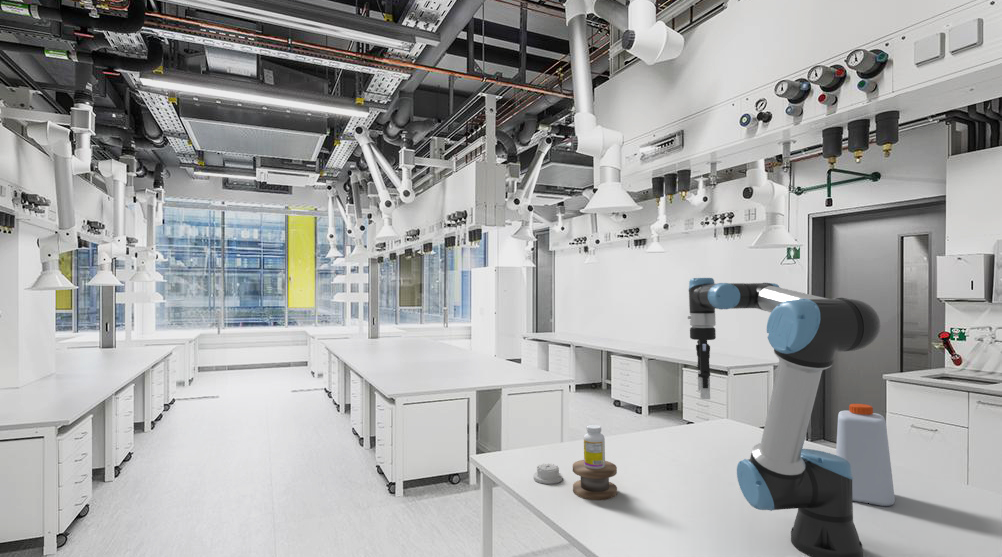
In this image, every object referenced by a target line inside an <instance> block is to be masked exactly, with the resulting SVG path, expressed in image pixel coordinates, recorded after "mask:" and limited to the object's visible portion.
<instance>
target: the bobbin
mask: <svg viewBox="0 0 1002 557" xmlns="http://www.w3.org/2000/svg"><path fill="white" fill-rule="evenodd" d="M617 470H618V466H617V465H616V464H614V463H613V462H611V461H607V460H605V467H604V468H602V469H589V468H587V467H585V465H584V459H581V460H578V461H575V462H573V463H572V472H573V474H575V475H577V476H579V477H580V479H579V480H577V481H575V482H573V484H572V491H573V493H574V495H575V496H577V497H579V498H582V499H586V500H590V501H593V500H594V501H602V500H603V501H606V500H609V499H613V498H615V497H616V496H617V495H618V487H617V485H616V484H615V483H613V482H610V478H612V477H615V476H616V475H617V473H618V472H617Z"/></svg>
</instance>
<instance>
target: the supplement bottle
mask: <svg viewBox="0 0 1002 557" xmlns="http://www.w3.org/2000/svg"><path fill="white" fill-rule="evenodd" d="M586 432H587V433H585V434H584V436H583V460H584V465H585V467H587V468H589V469H602V468H604V467H605V461H606V452H605V450H606V445H605V443H606V442H605V435H604V434H602V426H601V425H599V424H589V425H586Z"/></svg>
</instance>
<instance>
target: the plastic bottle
mask: <svg viewBox="0 0 1002 557" xmlns="http://www.w3.org/2000/svg"><path fill="white" fill-rule="evenodd" d="M848 406H849V408H848V410H841V411H839V412H838V415H837V428H836V429H837V431H836V450H835V451H836V453H835V455H837V456H839V457H842V458H844V459H845V460H847V461H848V462H849V464H850V465H851V473H852V477H853V480H852V501H854V502H857V503H858V502H859V503H864V504H868V503H869V505H875V506H881V507H889V506H893V504H895V501H896V497H895V489H894V483H893V482H894V481H893V473H892V471H893V470H892V462H891V453H890V446H889V439H888V429H887V422H886V419H885V416H884V415H882V414H880V413H877V412H874V408H873V406H872V405H870V404H865V403H851V404H849V405H848Z"/></svg>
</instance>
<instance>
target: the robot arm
mask: <svg viewBox="0 0 1002 557" xmlns="http://www.w3.org/2000/svg"><path fill="white" fill-rule="evenodd" d="M688 282H689V283H688V285H689V286H688V299H689V300H688V301H689V302H688V304H689V305H688V306H689V315H688V316H687V319H688V320H689V326H691V327H690V328H689V338H690V339H691V340H696V341H697V342H696V343H697V344H696V345H695V350H696V357H697V365H696V366H697V390H698V391H700V392H699V393H700V394H699V395H700V396H699V397H700V399H701V400H711V377H710V376H711V370H710V369H711V367H710V358H711V357H710V356H711V355H710V354H711V345H709V343H708V341H713V340H716V337H717V336H716V335H717V334H716V332H717V331H716V328H715V326H716V325H717V324H716V309H717V310H730V309H731V310H732V309H737V310H738V309H757V310H761V311H764V312H768V313H770V314H769V317H768V319H767V324H766V333H767V334H768V336H767V340H768V343H769V344H770V346H771V347H772V349H773V353H774V355H775V356H776V357H777V359H778V364H777V369H776V374H775V378H774V382H773V387H772V391H771V396H770V400H769V405H768V410H767V413H766V418H765V423H764V426H763V432H762V437H761V441H760V443H757V444H755V445H754V446H753V447H752V450H751V453H750V458H748V459H747V458H744V459H742V460H740V461H739V462H738V463H737V466H736V478H737V482H738V486H739V489H740V491H741V493H742V495H743V497H744V499H745V500H746V501H747V503H748V504H749V505H750V506H751V507H752V508H754V509H755V510H758V511H759V510H760V511H771V512H772V511H777V510H778V511H779V510H792V509H797V514H796V516H795V519H794V522H793V523H794V524H793V526H792V527H791V530H790V542H791V544H792V545H793V547H795V548H796V549H797V550H798V551H800V552H802V553H803V554H805V555H808V556H810V557H864V551H863V550H864V547H863V544H862V541H861V540H860V537H859V534H858V530H857V528H856V525H855V523H854V508H853V506H854V504H853V501H852V480H853V477H852V473H851V465H850V464H849V462H848V461H847V460H845V459H844V458H842V457H839V456H837V455H836V454H833V453H830V452H826V451H821V450H818V449H813V448H812V449H810V448H803V446H804V444H805V440H806V435H807V433H808V427H809V424H810V420H811V417H812V414H813V413H812V412H813V408H814V404H815V401H816V397H817V392H818V389H819V385H820V380H821V376H822V373H823V371H824V370H827V369H829V368H831V367H832V366H833V363H834V360H835V357H836V353H839V352H840V353H841V352H855V351H859V350H861V349H865V348H867V347H868V346H870V345H871V344H872V343H874V341H875V340H876V339H877V337H878V336H879V333H880V332H881V331H880V330H881V319H880V316H879V315H878V313H877V311H876V310H875V308H873V307H872V306H871V305H870V304H868V303H866V302H864V301H862V300H860V299H853V298H848V297H846V298H845V297H834V298H827V297H823V296H818V295H813V294H808V293H805V292H799V291H796V290H792V289H788V288H782V287H781V286H780V285H778V283H772V282H771V283H770V282H762V283H761V282H755V283H754V282H753V283H750V282H749V283H747V282H746V283H744V282H742V283H741V282H740V283H739V282H737V283H735V282H733V283H729V282H717V283H715V280H714V278H713V277H692V278H690V280H689V281H688Z"/></svg>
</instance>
